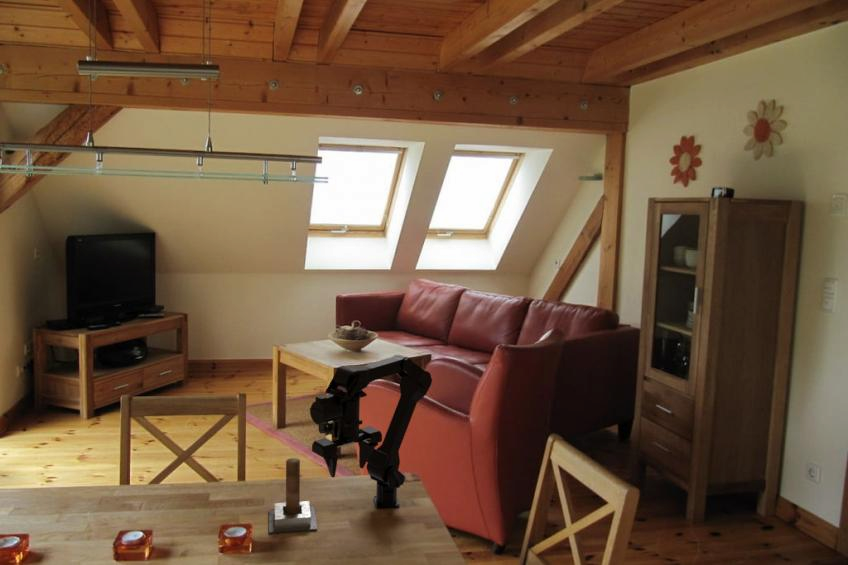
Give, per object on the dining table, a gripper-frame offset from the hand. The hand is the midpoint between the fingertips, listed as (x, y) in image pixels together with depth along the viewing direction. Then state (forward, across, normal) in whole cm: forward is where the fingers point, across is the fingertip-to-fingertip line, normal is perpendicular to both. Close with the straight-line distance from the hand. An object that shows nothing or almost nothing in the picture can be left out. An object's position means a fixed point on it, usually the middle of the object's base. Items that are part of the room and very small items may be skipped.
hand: (347, 472), depth 184 cm
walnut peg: (+12, +12, -8) cm, 19 cm away
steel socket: (+13, +12, -8) cm, 19 cm away
